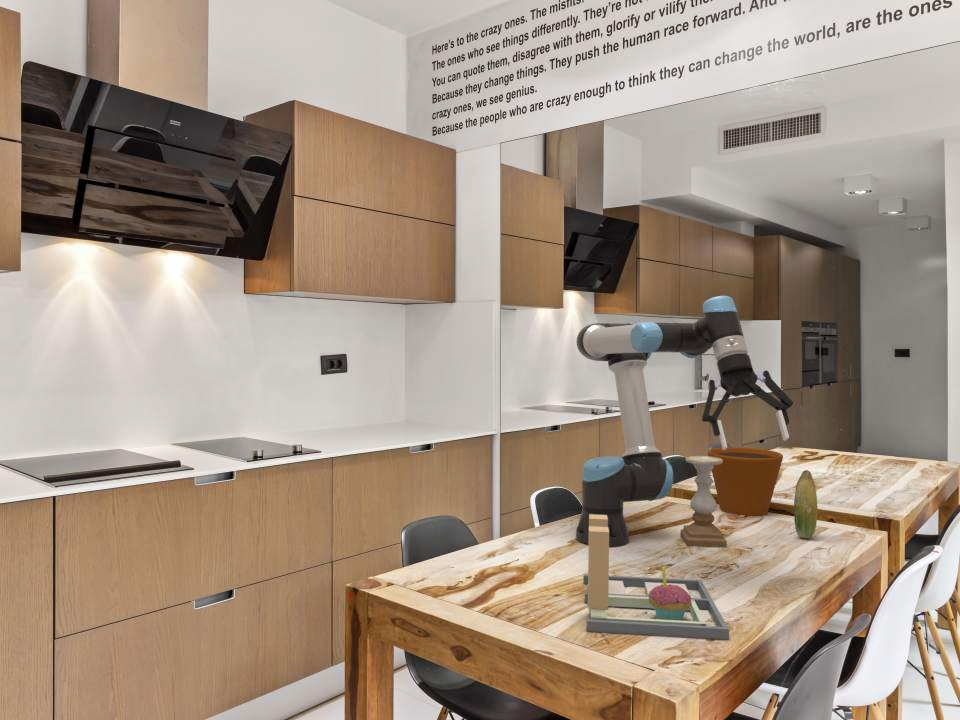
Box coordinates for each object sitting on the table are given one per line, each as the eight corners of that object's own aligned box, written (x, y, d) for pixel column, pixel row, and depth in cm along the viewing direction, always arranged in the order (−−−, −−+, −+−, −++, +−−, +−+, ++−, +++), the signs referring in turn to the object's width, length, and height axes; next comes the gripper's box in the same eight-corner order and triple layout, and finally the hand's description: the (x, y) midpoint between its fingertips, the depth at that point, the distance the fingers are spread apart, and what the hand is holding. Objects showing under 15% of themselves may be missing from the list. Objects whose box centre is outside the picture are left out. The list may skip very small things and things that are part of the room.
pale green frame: (588, 627, 139) (590, 537, 139) (587, 603, 152) (588, 520, 152) (705, 634, 136) (707, 542, 136) (693, 608, 149) (695, 524, 149)
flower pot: (792, 511, 238) (793, 452, 237) (766, 524, 220) (767, 461, 220) (723, 500, 254) (724, 445, 253) (694, 511, 236) (695, 452, 236)
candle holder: (717, 536, 206) (719, 455, 205) (727, 547, 195) (728, 462, 194) (679, 535, 207) (680, 454, 206) (686, 546, 196) (688, 461, 195)
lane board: (586, 631, 138) (586, 621, 138) (583, 582, 165) (583, 574, 165) (728, 639, 134) (729, 629, 134) (701, 588, 162) (701, 580, 162)
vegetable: (821, 540, 202) (823, 471, 202) (805, 542, 200) (806, 473, 199) (805, 535, 208) (806, 468, 207) (788, 537, 206) (790, 469, 205)
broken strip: (589, 599, 154) (590, 522, 153) (587, 584, 164) (588, 511, 163) (692, 605, 151) (693, 526, 151) (684, 589, 161) (685, 514, 161)
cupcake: (667, 631, 138) (668, 571, 137) (639, 616, 145) (640, 559, 145) (700, 624, 142) (701, 565, 141) (670, 609, 149) (671, 553, 149)
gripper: (680, 361, 166) (701, 449, 158) (789, 342, 162) (816, 431, 155) (678, 372, 173) (698, 456, 165) (783, 354, 169) (808, 438, 161)
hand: (755, 444), depth 160 cm, fingers open, 13 cm apart
